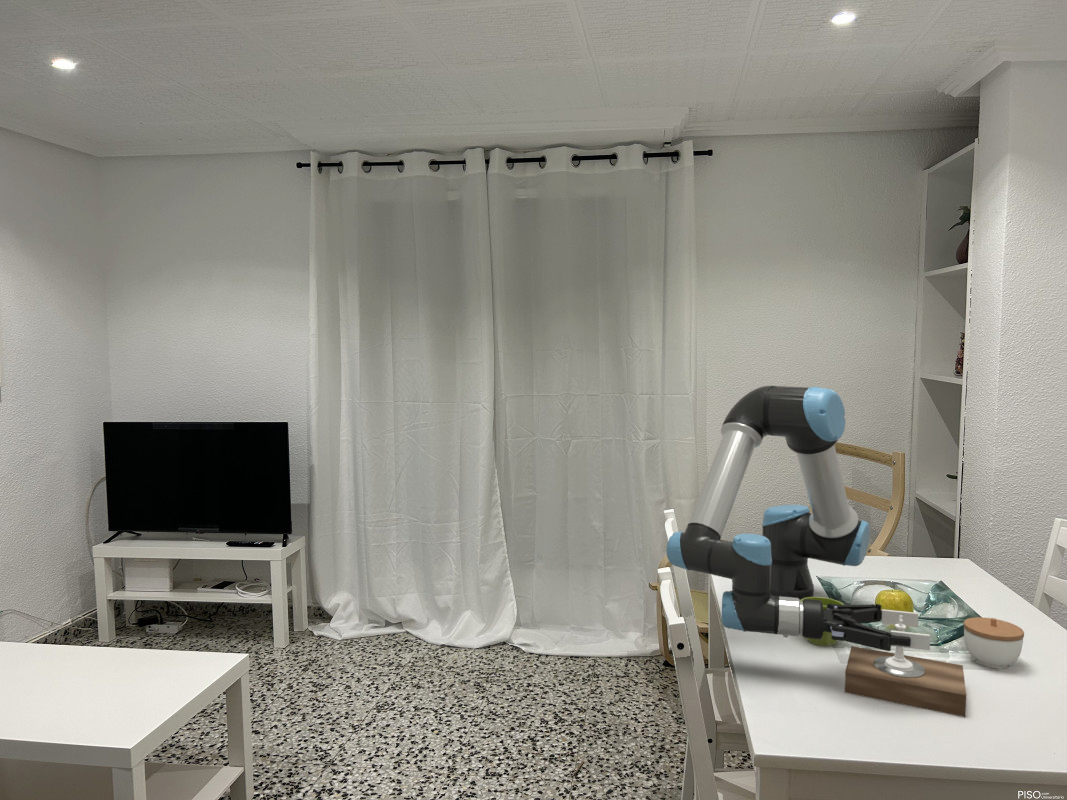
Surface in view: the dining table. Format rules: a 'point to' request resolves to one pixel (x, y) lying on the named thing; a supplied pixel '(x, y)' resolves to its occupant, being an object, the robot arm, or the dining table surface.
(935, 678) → the walnut base
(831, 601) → the plant pot
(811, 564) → the dining table surface
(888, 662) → the chess piece
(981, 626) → the lidded jar
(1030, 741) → the dining table surface
